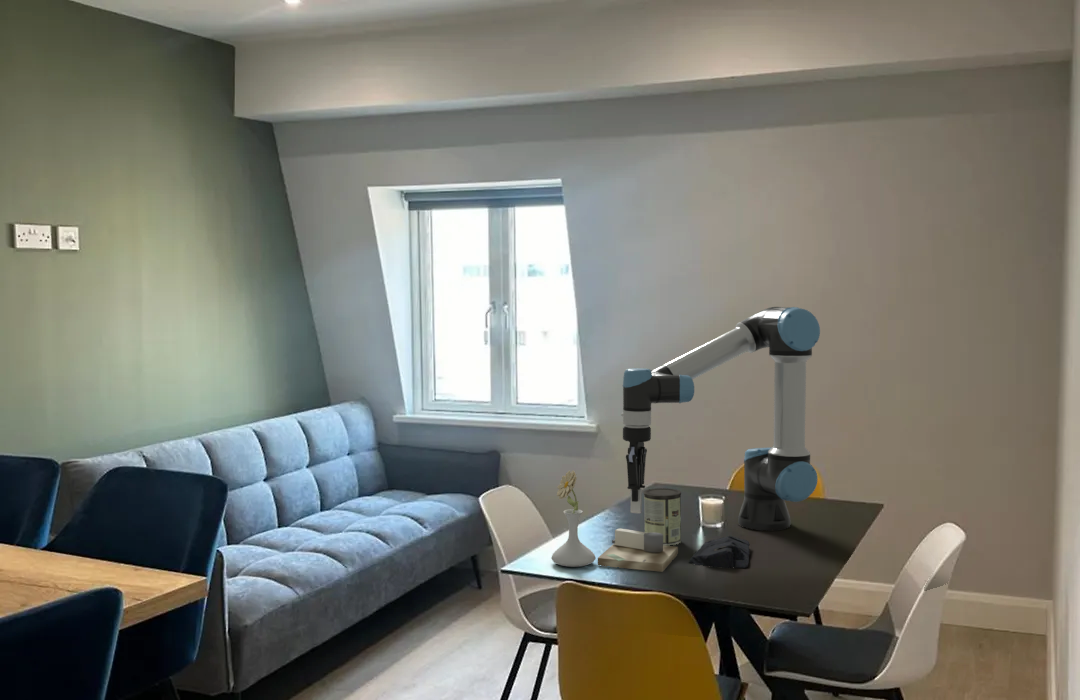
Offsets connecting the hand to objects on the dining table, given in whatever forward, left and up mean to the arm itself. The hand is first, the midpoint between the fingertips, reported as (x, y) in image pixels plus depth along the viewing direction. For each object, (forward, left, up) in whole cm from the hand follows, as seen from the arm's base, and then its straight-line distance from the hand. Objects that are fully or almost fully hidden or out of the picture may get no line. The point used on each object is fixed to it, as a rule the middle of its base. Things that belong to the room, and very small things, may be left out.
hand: (636, 512), depth 270 cm
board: (-3, +10, -10) cm, 14 cm away
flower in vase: (+11, +20, -10) cm, 25 cm away
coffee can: (-5, -10, -10) cm, 15 cm away
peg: (-2, +6, -8) cm, 10 cm away
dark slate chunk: (-23, -1, -11) cm, 26 cm away
